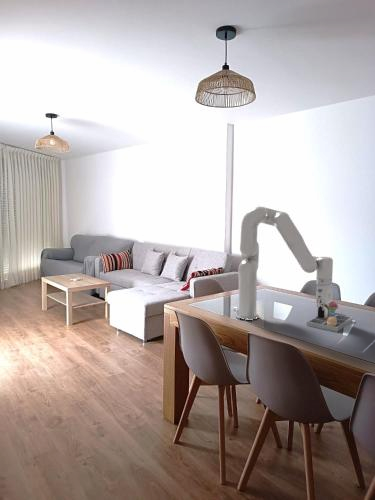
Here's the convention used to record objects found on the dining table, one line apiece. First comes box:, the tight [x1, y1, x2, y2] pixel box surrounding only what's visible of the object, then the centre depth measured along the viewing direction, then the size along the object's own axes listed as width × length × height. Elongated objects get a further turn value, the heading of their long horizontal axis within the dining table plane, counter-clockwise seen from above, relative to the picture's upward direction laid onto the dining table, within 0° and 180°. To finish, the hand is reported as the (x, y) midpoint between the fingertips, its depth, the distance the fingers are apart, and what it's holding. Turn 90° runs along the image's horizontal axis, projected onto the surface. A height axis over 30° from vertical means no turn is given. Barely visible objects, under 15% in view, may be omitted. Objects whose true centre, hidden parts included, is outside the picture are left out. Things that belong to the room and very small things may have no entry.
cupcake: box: [328, 300, 339, 314], centre depth 203 cm, size 9×8×12 cm
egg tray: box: [306, 313, 353, 333], centre depth 185 cm, size 15×22×2 cm
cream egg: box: [319, 306, 328, 318], centre depth 187 cm, size 4×4×6 cm
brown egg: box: [327, 316, 337, 327], centre depth 177 cm, size 4×4×6 cm
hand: (323, 316), depth 187 cm, fingers closed on cream egg, 4 cm apart
